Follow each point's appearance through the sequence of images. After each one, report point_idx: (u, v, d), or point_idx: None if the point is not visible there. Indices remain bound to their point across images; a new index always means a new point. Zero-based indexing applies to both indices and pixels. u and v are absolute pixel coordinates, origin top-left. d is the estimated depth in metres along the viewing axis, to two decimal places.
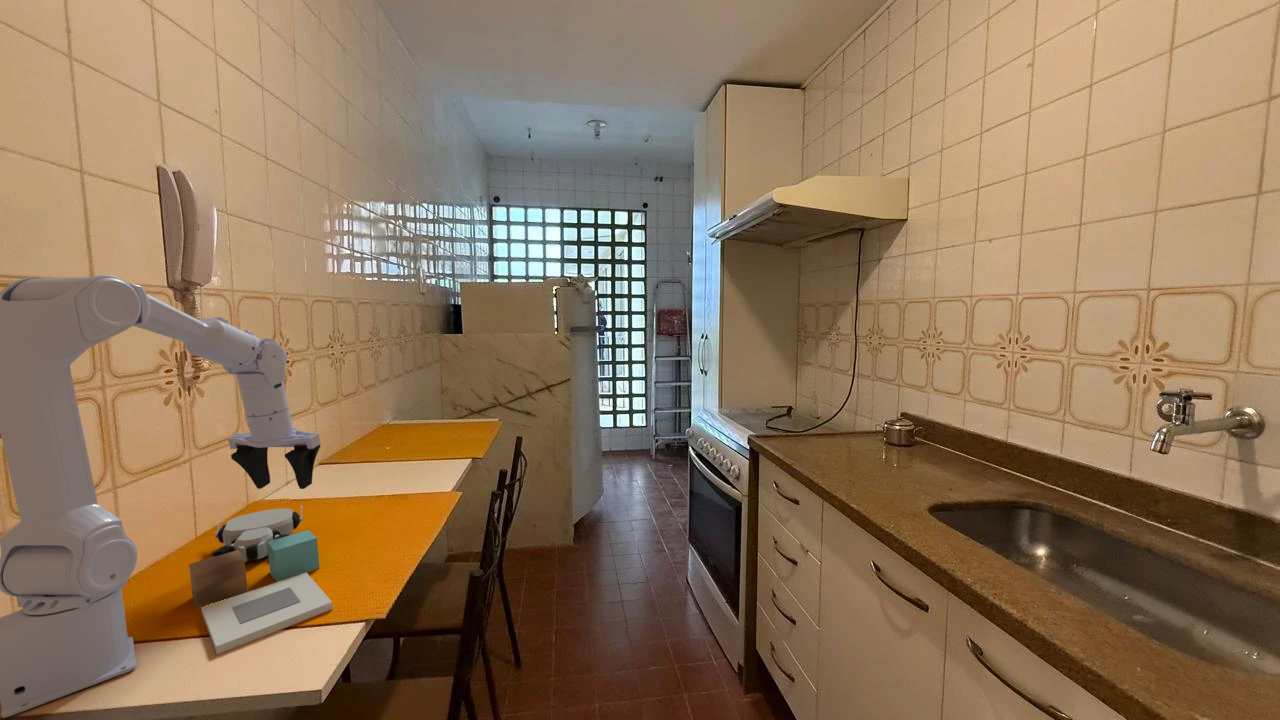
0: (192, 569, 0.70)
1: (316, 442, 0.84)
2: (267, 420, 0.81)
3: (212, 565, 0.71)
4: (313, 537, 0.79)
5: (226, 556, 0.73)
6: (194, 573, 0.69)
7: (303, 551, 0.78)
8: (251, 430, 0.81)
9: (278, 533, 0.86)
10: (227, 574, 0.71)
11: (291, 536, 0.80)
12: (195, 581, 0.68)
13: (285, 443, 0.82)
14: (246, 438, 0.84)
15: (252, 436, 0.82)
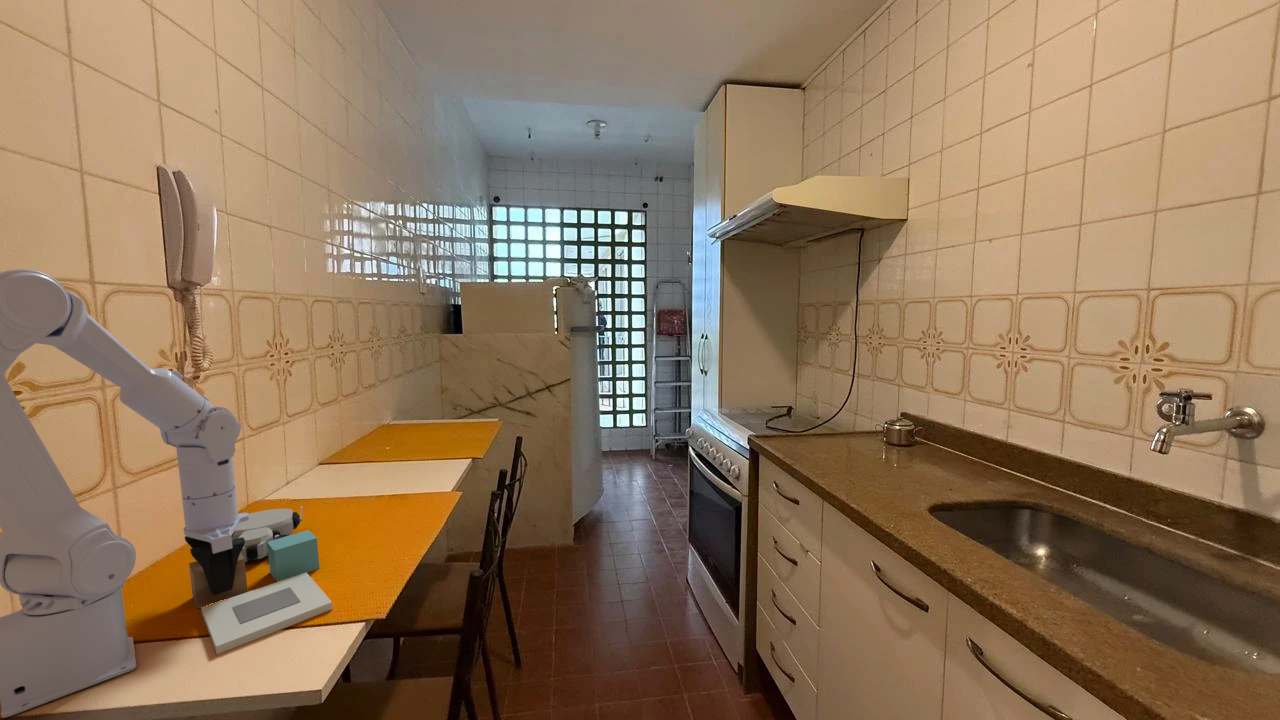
0: (192, 568, 0.70)
1: (223, 546, 0.66)
2: (189, 505, 0.68)
3: None
4: (313, 537, 0.79)
5: None
6: (194, 572, 0.69)
7: (303, 551, 0.78)
8: None
9: (278, 533, 0.86)
10: None
11: (291, 536, 0.80)
12: (195, 580, 0.68)
13: (198, 538, 0.67)
14: None
15: None
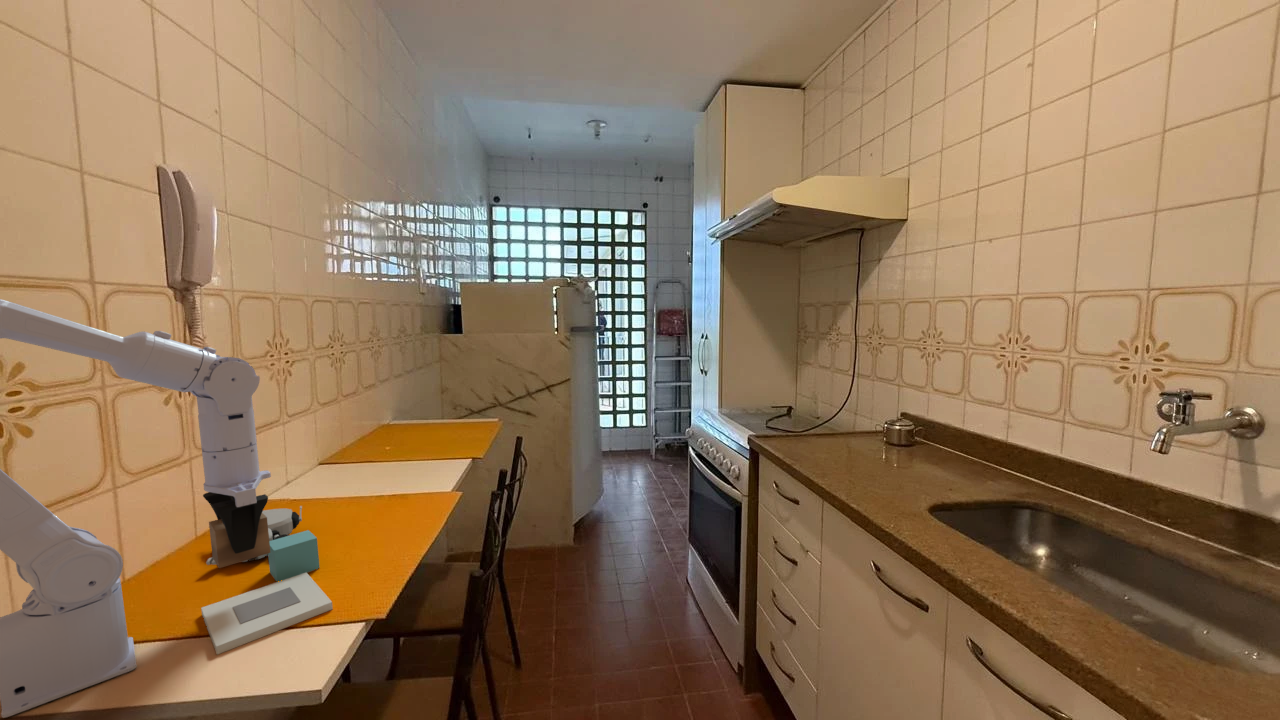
0: (213, 526, 0.67)
1: (247, 499, 0.63)
2: (210, 458, 0.65)
3: None
4: (313, 537, 0.79)
5: None
6: (215, 529, 0.65)
7: (303, 551, 0.78)
8: None
9: (278, 533, 0.86)
10: None
11: (291, 536, 0.80)
12: (217, 538, 0.65)
13: (220, 492, 0.64)
14: None
15: None
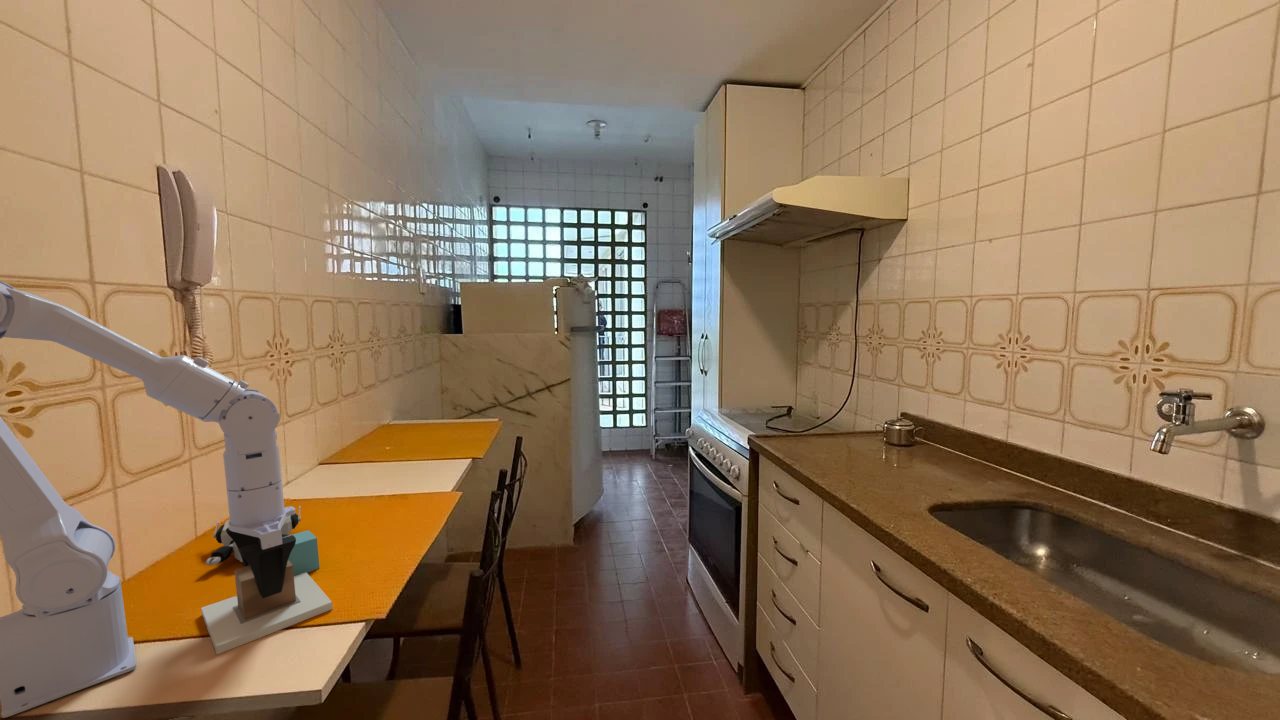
0: (239, 575, 0.65)
1: (272, 541, 0.62)
2: (235, 497, 0.63)
3: None
4: (313, 537, 0.79)
5: None
6: (241, 580, 0.64)
7: (303, 551, 0.78)
8: None
9: None
10: None
11: None
12: (243, 588, 0.64)
13: (245, 533, 0.63)
14: None
15: None
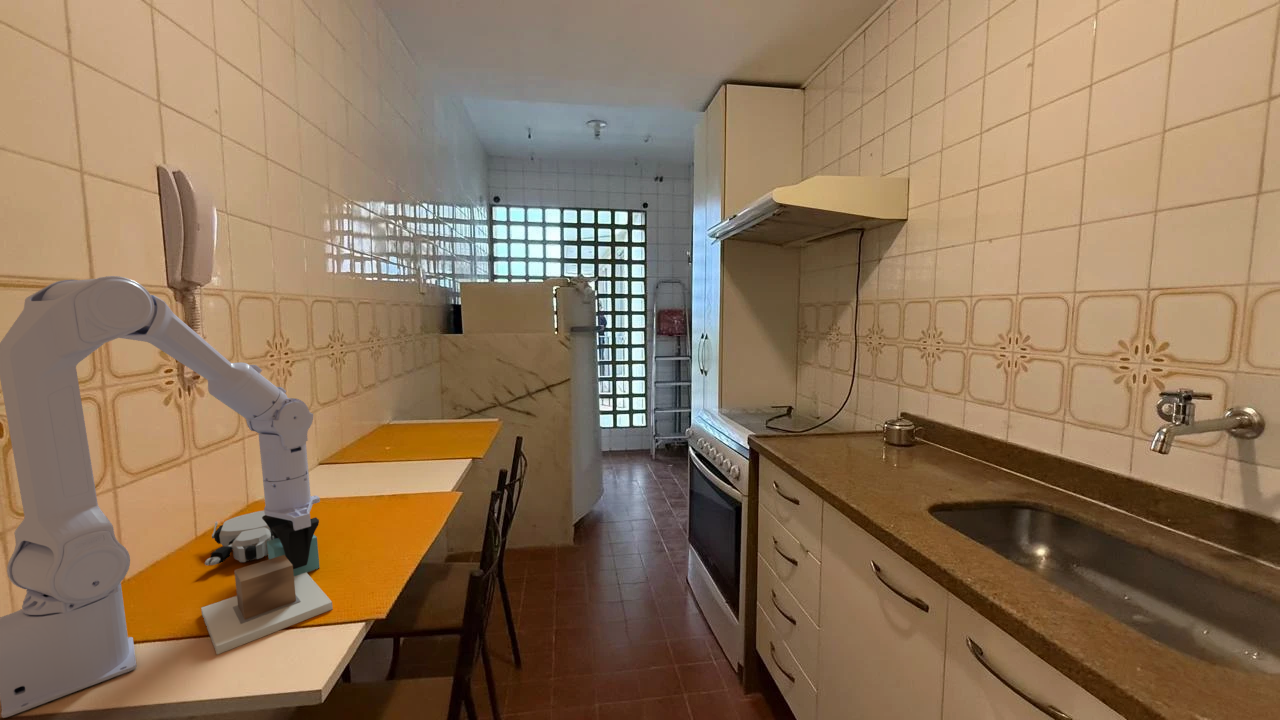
0: (239, 575, 0.65)
1: (303, 524, 0.73)
2: (271, 487, 0.75)
3: (259, 572, 0.66)
4: (313, 536, 0.79)
5: (272, 561, 0.69)
6: (241, 580, 0.64)
7: None
8: None
9: None
10: (275, 581, 0.66)
11: None
12: (243, 588, 0.64)
13: (279, 516, 0.74)
14: None
15: None
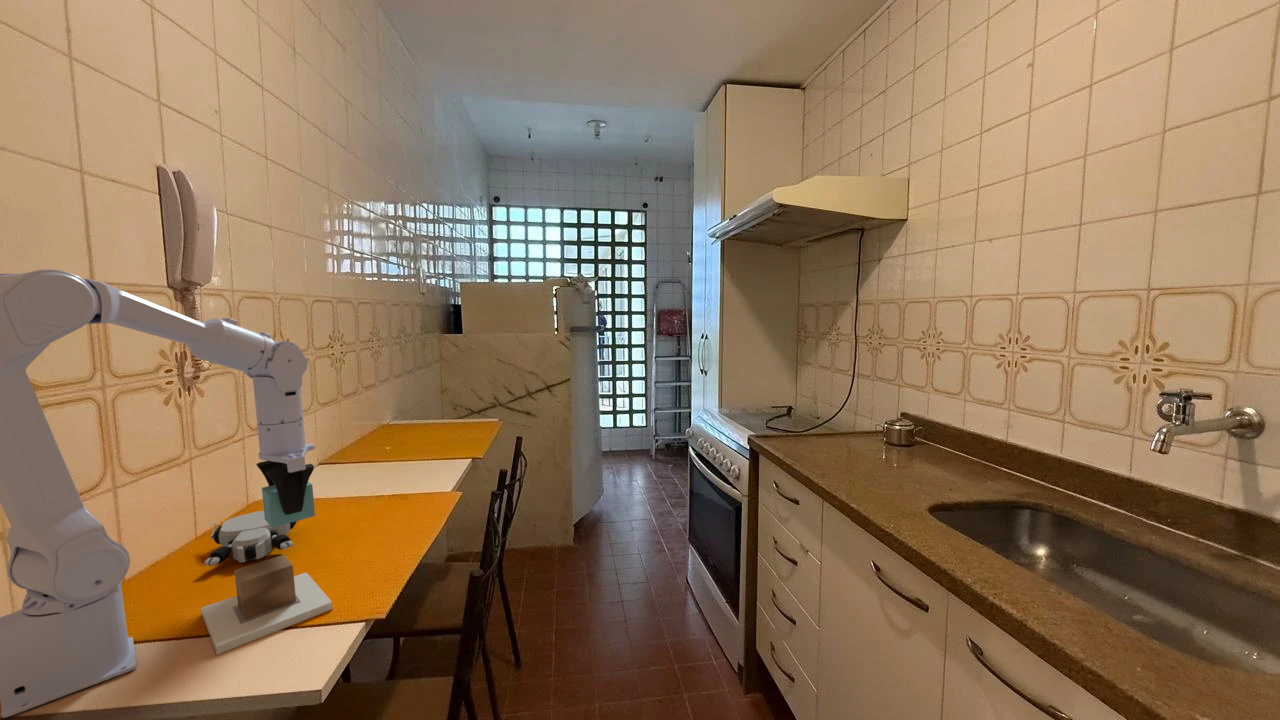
0: (239, 575, 0.65)
1: (297, 466, 0.72)
2: (265, 430, 0.74)
3: (259, 572, 0.66)
4: (308, 484, 0.78)
5: (272, 561, 0.69)
6: (241, 580, 0.64)
7: None
8: None
9: (275, 533, 0.86)
10: (275, 581, 0.66)
11: None
12: (243, 588, 0.64)
13: (273, 460, 0.73)
14: None
15: None
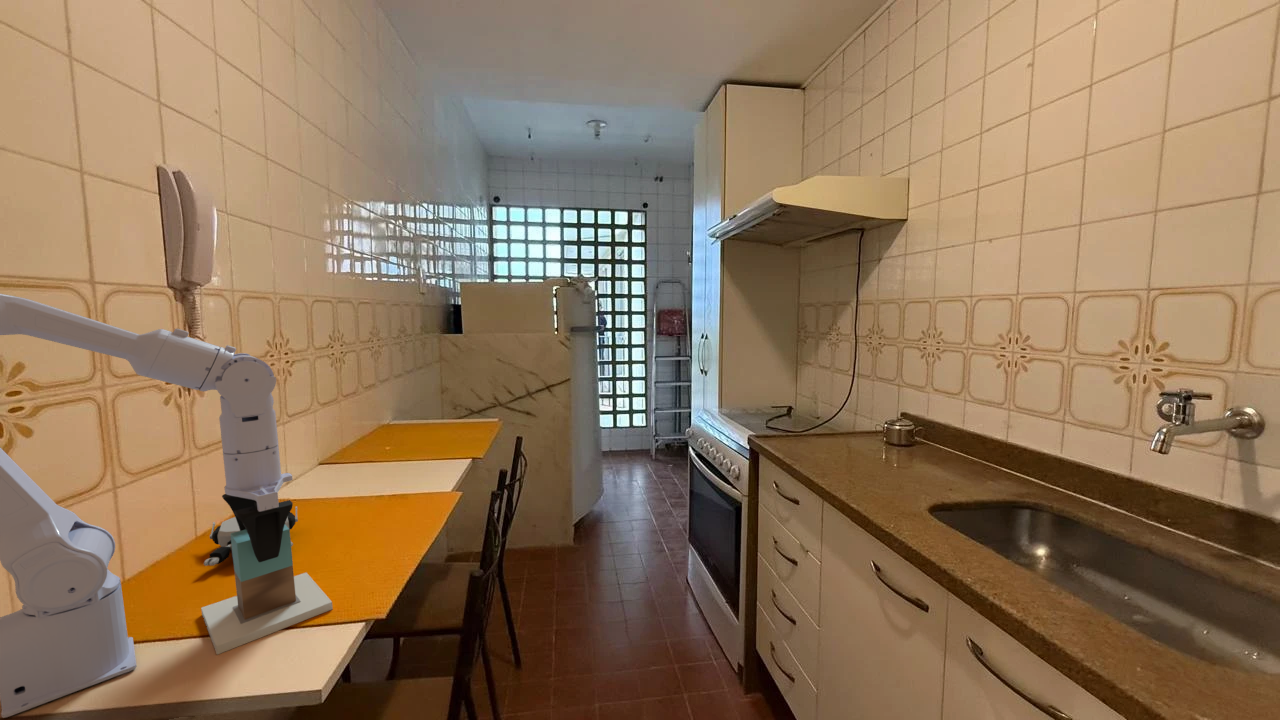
0: None
1: (269, 504, 0.61)
2: (232, 461, 0.63)
3: None
4: (285, 528, 0.67)
5: None
6: None
7: None
8: None
9: None
10: (275, 581, 0.66)
11: None
12: (243, 588, 0.64)
13: (241, 495, 0.62)
14: None
15: None
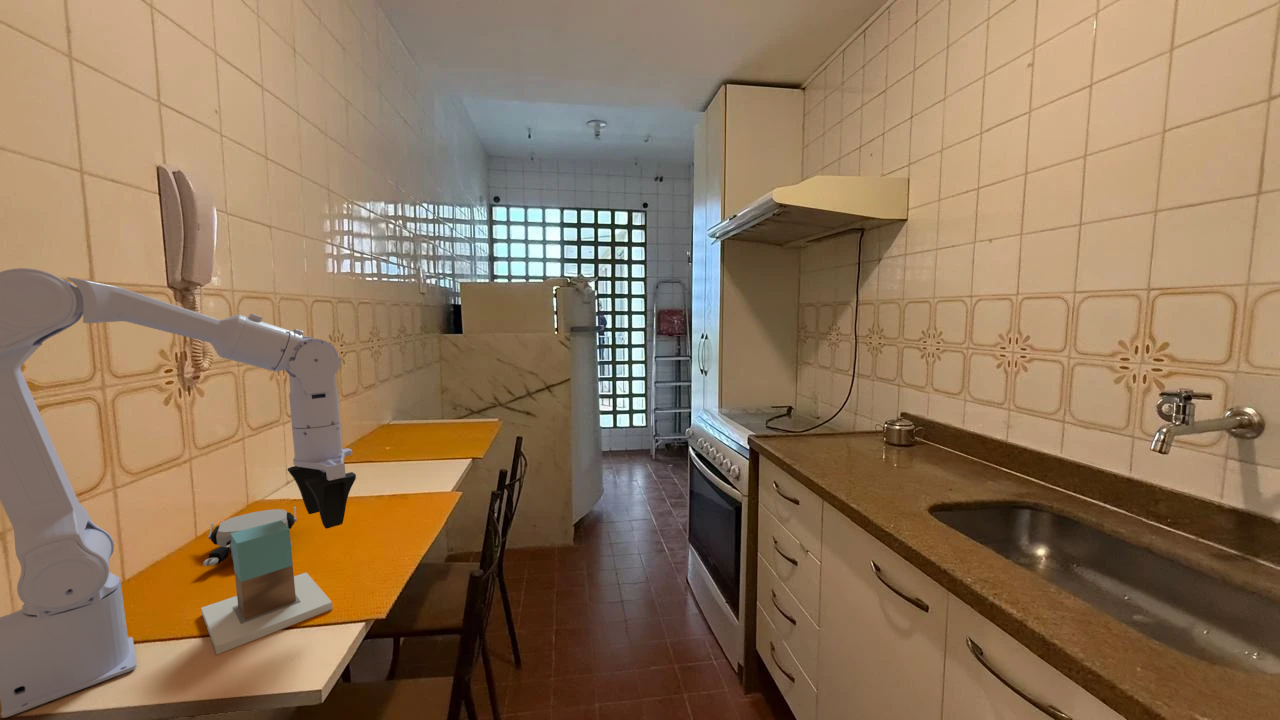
0: None
1: (337, 473, 0.66)
2: (301, 434, 0.68)
3: None
4: (285, 528, 0.67)
5: None
6: None
7: (273, 545, 0.66)
8: None
9: None
10: (275, 581, 0.66)
11: (260, 527, 0.68)
12: (243, 588, 0.64)
13: (311, 466, 0.67)
14: None
15: None
